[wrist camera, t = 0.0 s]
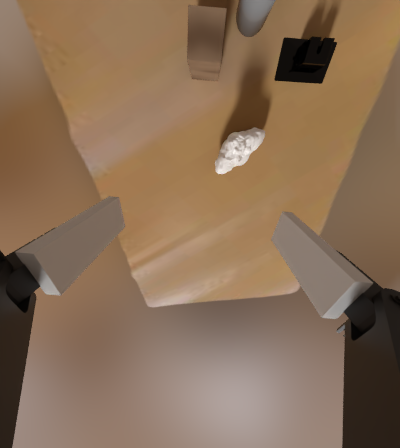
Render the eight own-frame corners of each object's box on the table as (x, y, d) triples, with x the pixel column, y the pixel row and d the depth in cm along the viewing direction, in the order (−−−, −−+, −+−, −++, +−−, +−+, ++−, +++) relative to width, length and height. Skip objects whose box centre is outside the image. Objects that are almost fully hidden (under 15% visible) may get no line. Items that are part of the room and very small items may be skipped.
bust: (254, 130, 34) (247, 88, 24) (274, 153, 32) (276, 119, 22) (213, 165, 38) (193, 143, 28) (229, 187, 36) (213, 173, 26)
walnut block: (193, 40, 26) (188, 4, 19) (221, 43, 26) (226, 8, 19) (192, 79, 28) (187, 59, 22) (217, 81, 28) (220, 62, 22)
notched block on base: (346, 37, 25) (372, 19, 21) (325, 92, 29) (344, 85, 25) (275, 32, 25) (288, 12, 21) (263, 87, 29) (272, 79, 25)
